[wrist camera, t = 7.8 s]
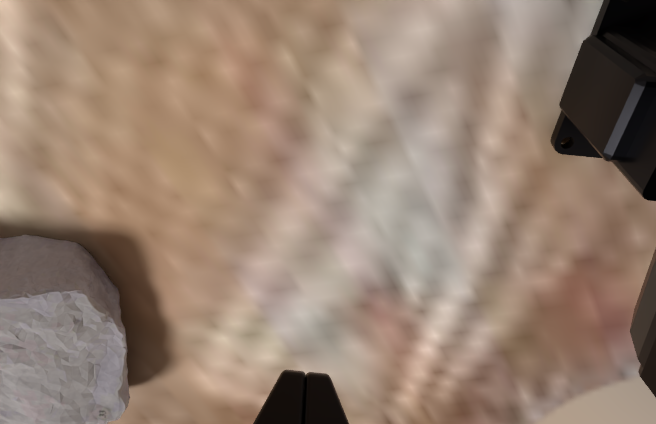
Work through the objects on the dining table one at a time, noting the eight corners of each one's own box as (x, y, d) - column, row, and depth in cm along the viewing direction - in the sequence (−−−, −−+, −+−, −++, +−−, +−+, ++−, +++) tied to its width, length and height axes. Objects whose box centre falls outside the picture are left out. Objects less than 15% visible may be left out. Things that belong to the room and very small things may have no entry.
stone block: (109, 208, 26) (-114, 234, 24) (92, 275, 22) (-174, 311, 20) (161, 360, 33) (-10, 387, 31) (154, 430, 29) (-40, 464, 28)
